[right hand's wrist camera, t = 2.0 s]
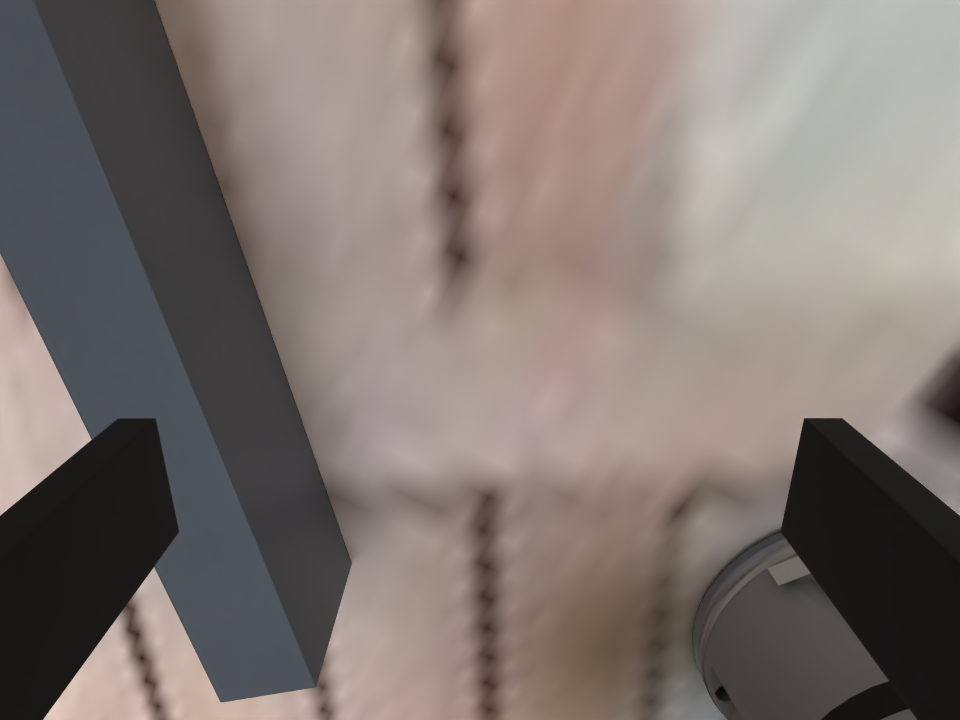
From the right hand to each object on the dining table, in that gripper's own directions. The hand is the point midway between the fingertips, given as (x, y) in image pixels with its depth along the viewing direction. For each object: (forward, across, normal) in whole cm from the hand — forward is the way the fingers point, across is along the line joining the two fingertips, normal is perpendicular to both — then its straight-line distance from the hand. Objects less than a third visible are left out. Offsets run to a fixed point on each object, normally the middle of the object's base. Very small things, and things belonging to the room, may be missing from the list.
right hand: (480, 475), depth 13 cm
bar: (+18, +15, -8) cm, 24 cm away
